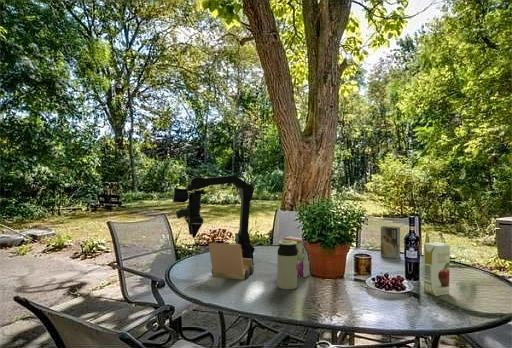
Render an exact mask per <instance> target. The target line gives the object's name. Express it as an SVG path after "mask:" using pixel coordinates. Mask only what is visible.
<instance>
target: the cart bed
mask: <svg viewBox="0 0 512 348" xmlns="http://www.w3.org/2000/svg"><path fill="white" fill-rule="evenodd" d="M243 267H244V275H238V274H226V273H215V272H213V271H212V270H211V274H212V277H213V278H219V279H220V278H223V279H231V280H232V279H233V280H245V279H249V278H250V275H253V274H254V272H255V267H254V265H252V259H248V258H243Z"/></svg>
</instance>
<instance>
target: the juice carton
mask: <svg viewBox="0 0 512 348" xmlns="http://www.w3.org/2000/svg"><path fill="white" fill-rule="evenodd" d="M450 248H451V244H448V243H446V242H445V243H444V242H439V241H434V242H424V243H423V265H422V267H423V270H422V273H423V275H422V280H423V281H422V285H423V286H422V287H423V289H422V291H423V292H424V291H425V292H424V293H426V292H427V294H429V293H430V294H429V295H431V294H432V296H434V295H435V296H434V297H441V296H444V295H445V296H447V295H449V294H450V266H451V265H450V264H451V263H450V262H451V259H450V257H451V251H450V250H451V249H450ZM440 295H441V296H440Z"/></svg>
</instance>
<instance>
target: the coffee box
mask: <svg viewBox="0 0 512 348" xmlns="http://www.w3.org/2000/svg"><path fill="white" fill-rule="evenodd" d="M380 257H381V258H389V259H390V258H391V259H399V258H401V227H399V226H389V225H386V226H385V225H383V226H381V227H380Z"/></svg>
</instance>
